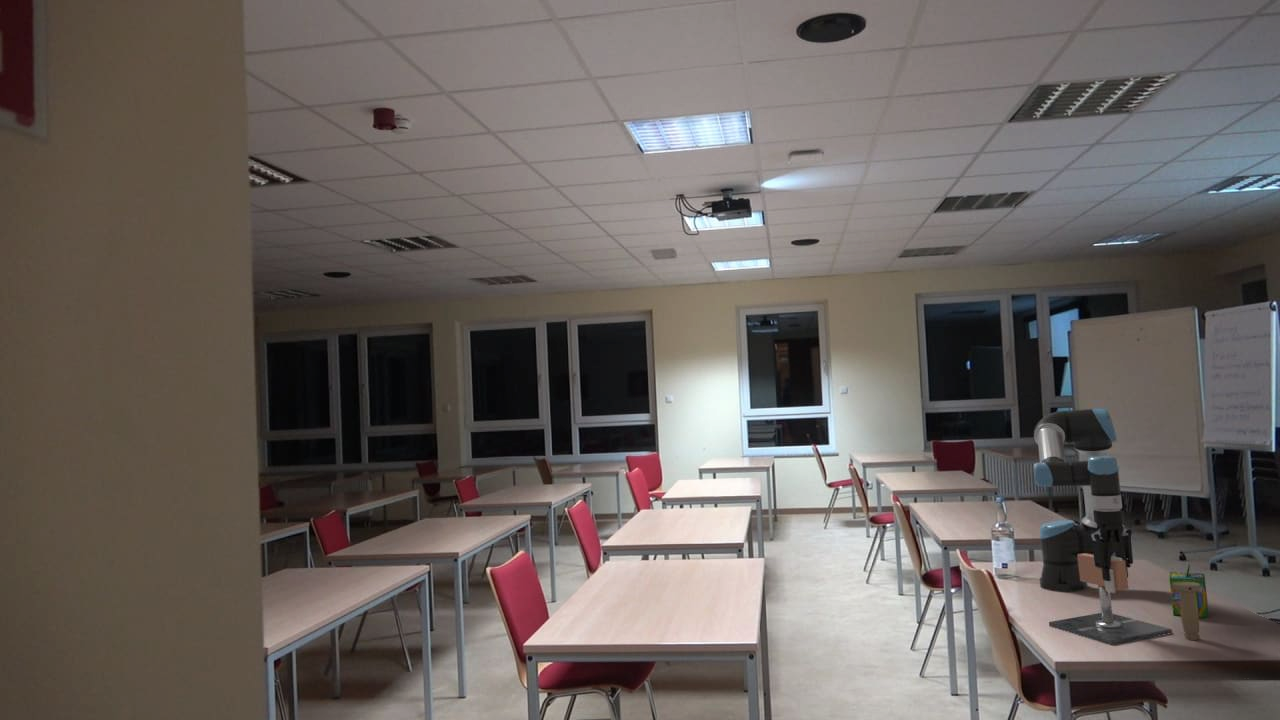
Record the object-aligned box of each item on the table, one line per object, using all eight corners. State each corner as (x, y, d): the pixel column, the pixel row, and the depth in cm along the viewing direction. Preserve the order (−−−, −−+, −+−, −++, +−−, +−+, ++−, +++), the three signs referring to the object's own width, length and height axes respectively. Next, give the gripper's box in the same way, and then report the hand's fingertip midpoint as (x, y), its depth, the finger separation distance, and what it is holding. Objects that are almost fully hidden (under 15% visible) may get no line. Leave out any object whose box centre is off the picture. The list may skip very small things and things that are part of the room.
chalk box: (1173, 608, 244) (1167, 560, 245) (1208, 610, 239) (1202, 562, 240) (1172, 615, 237) (1166, 566, 238) (1209, 618, 231) (1203, 568, 232)
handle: (1209, 641, 211) (1202, 585, 213) (1183, 641, 213) (1176, 586, 214) (1201, 636, 216) (1194, 581, 217) (1175, 636, 217) (1168, 582, 219)
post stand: (1106, 615, 241) (1101, 574, 242) (1172, 633, 220) (1166, 588, 221) (1049, 626, 235) (1044, 583, 236) (1111, 645, 214) (1105, 598, 215)
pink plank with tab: (1088, 579, 236) (1084, 550, 236) (1128, 588, 222) (1124, 557, 223) (1080, 581, 235) (1076, 551, 236) (1120, 590, 222) (1116, 558, 222)
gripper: (1095, 513, 220) (1104, 597, 218) (1142, 507, 225) (1151, 589, 223) (1073, 511, 227) (1082, 592, 225) (1119, 505, 232) (1129, 584, 230)
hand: (1117, 590), depth 224 cm, fingers open, 4 cm apart
